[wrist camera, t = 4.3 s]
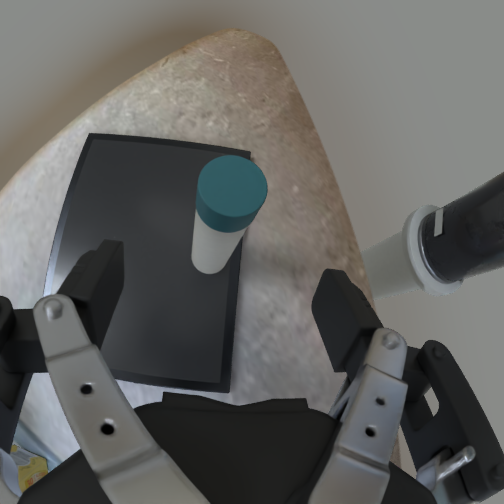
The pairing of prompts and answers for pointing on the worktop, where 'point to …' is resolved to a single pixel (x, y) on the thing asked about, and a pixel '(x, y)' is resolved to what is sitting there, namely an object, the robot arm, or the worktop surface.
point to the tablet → (152, 260)
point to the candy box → (28, 467)
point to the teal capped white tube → (225, 209)
